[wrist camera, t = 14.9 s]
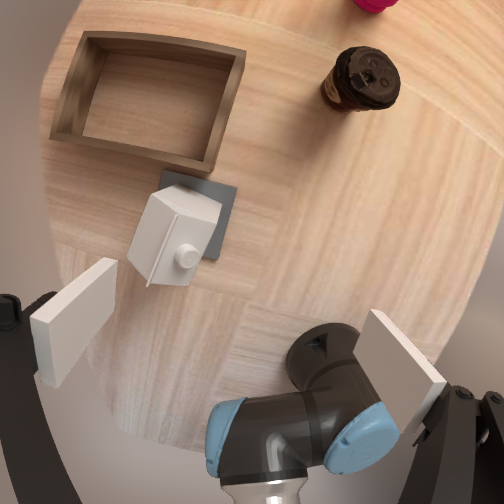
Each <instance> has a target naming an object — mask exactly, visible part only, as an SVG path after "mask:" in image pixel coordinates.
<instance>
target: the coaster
mask: <svg viewBox="0 0 504 504" xmlns="http://www.w3.org/2000/svg"><path fill="white" fill-rule="evenodd" d="M176 184H180V185H183V186H185V187H187V188H189V189H191V190H193V191H196V192H198V193H200V194H202V195H204V196H206V197H208V198H211V199H213V200H215V201H217V202H219V203H221V204H222V207H221V211H220V215H219V218H218V222H217V225H216V228H215V230H214V232H213V234H212V237H211V239H210V241H209V243H208V245H207V247H206V249H205V251H204V253H203V257H207V258H211V259H215V260H218V257H219V253H220V250H221V246H222V242H223V238H224V235H225V231H226V227H227V224H228V220H229V217H230V213H231V209H232V206H233V202H234V199H235V195H236V192H237V188H236V187H232V186H228V185H225V184H221V183H217V182H213V181H209V180H205V179H201V178H198V177H194V176H189V175H185V174H181V173H177V172H173V171H169V170H163V173H162V177H161V181H160V185H159V189H158V191H160V190H163V189H165V188H168V187H170V186H173V185H176Z"/></svg>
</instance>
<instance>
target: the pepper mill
mask: <svg viewBox="0 0 504 504" xmlns="http://www.w3.org/2000/svg"><path fill="white" fill-rule="evenodd" d="M354 1H355V2H356V4H357V5H358V6H359V7H361V8H362V9H364V10H366V11H368V12H371V13H379V12H382V11H383V10H384V9H385V8H386V7H390V6H393V5H394V4H395V3H396V2H397V1H398V0H354Z"/></svg>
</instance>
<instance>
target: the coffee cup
mask: <svg viewBox="0 0 504 504" xmlns="http://www.w3.org/2000/svg"><path fill="white" fill-rule="evenodd" d="M400 85H401V81H400V76H399V73H398V71H397V68H396V67H395V66H394V64H393V63H392V61H391V60H390V59H389V58H388V56H387V55H386V54H384V53H383V52H382V51H381V50H379V49H375V48H371V47H367V46H361V47H351V48H349V49H347V50H345V51H343V52H342V53H341V54H340V55H339V56H338V58H337V61H336V64H335V66H334V67H333V69H332V70H331V71H330V73H329V74H328V76H327V77H326V79H325V80H324V82H323V84H322V86H321V95H322V98H323V100H324V102H325V104H326V105H327V106H328V107H329V108H330V110H332V111H333V112H338V113H340V114H341V113H344V114H346V113H349V112H351V111H357V112H360V111H368V110H381V109H386V108H389V107H391V106H392V105H393V104H394V103H395V101H396V99H397V97H398V95H399V91H400Z"/></svg>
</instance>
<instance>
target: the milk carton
mask: <svg viewBox="0 0 504 504" xmlns="http://www.w3.org/2000/svg"><path fill="white" fill-rule="evenodd" d="M221 207H222V204H221V203H219V202H217V201H215V200H213V199H211V198H208V197H206V196H204V195H202V194H200V193H198V192H196V191H193V190H191V189H189V188H187V187H185V186H183V185H180V184H176V185H173V186H170V187H168V188H165V189H163V190H160V191H157V192H155V193H152V194H151V195H150V197H149V200H148V202H147V204H146V207H145V209H144V212H143V214H142V217H141V219H140V222H139V224H138V227H137V229H136V232H135V235H134V237H133V240H132V243H131V245H130V248H129V251H128V254H127V259H128V260H129V261H130V262H131V263H132V265H133V266H134V267H135V268H136V269H137V270H138V271H139V272H140V274H141V275H142V276H143V277H144V278H145V279H146V280H147V281H148V282H147V284H146V287H148V286H149V285H150V283H151V284H163V285H175V286H188V285H189V283H190V281H191V279H192V277H193V275H194V273H195V271H196V269H197V266H198V264H199V262H200V260H201V258H202V256H203V253H204V251H205V249H206V247H207V245H208V243H209V241H210V239H211V237H212V234H213V232H214V230H215V228H216V225H217V222H218V218H219V215H220V211H221Z"/></svg>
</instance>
